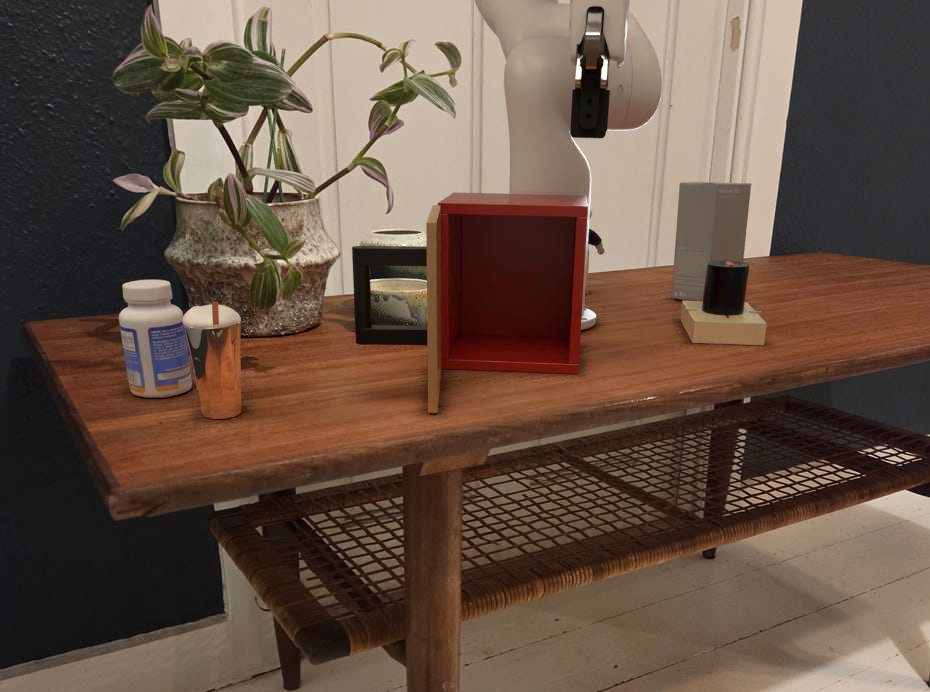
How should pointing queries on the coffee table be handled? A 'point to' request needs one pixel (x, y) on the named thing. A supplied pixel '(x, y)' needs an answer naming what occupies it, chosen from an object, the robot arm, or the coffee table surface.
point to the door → (431, 332)
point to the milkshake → (215, 358)
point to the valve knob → (725, 287)
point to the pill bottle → (154, 340)
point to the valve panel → (723, 325)
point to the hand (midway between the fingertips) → (589, 135)
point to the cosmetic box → (707, 232)
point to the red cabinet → (512, 281)
